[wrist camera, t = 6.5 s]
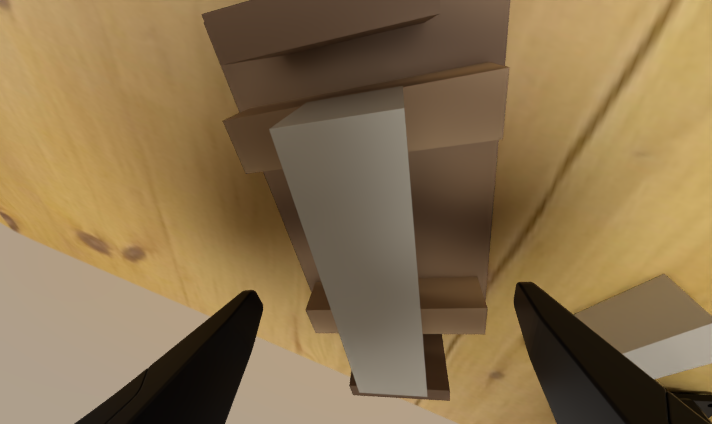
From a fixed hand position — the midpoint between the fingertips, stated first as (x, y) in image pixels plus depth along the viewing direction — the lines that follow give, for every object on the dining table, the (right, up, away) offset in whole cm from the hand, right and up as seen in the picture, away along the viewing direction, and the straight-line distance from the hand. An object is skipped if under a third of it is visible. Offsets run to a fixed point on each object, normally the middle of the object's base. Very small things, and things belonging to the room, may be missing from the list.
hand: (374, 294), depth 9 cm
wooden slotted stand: (+1, +3, +5) cm, 6 cm away
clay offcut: (+14, -5, +5) cm, 15 cm away
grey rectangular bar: (0, +1, +2) cm, 3 cm away
